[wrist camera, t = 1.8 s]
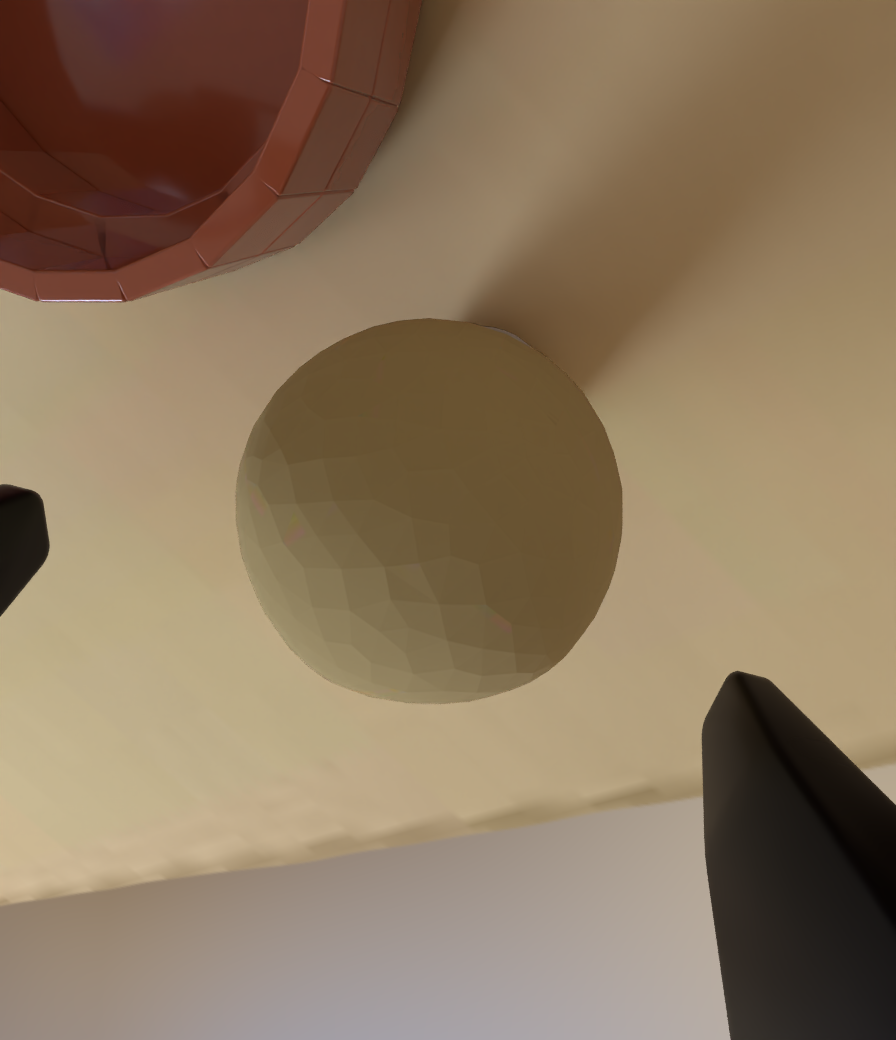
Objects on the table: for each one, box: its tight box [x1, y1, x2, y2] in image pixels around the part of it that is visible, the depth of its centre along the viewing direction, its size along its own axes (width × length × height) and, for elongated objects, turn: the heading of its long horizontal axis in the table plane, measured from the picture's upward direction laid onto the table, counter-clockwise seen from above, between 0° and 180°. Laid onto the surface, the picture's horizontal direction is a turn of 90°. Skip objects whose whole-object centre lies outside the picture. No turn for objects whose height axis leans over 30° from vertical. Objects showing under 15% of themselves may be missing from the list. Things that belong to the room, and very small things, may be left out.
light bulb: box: [236, 318, 622, 704], centre depth 13 cm, size 6×6×10 cm
